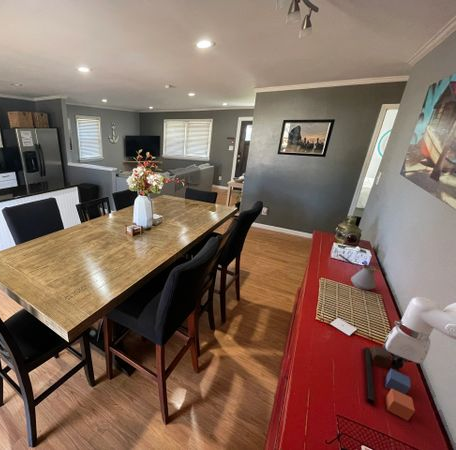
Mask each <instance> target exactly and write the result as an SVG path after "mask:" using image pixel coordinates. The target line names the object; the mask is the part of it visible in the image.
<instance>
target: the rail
mask: <svg viewBox="0 0 456 450" xmlns="http://www.w3.org/2000/svg"><path fill="white" fill-rule="evenodd" d="M370 350H371V348H370V347H367V346H365V347H364V349H363V360H364V375H365V393H366V395H365V396H366V403H367V404H369V405H372V406H373V405H374V404H375V387H374V377H373V366H372V365H373V364H372V363H371V353H370Z"/></svg>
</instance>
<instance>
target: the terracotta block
mask: <svg viewBox="0 0 456 450" xmlns="http://www.w3.org/2000/svg"><path fill="white" fill-rule="evenodd" d="M385 403H386V410H387V411H388V412H389V413H392V414H394V415H396V416H398V417H399V418H401V419H403V420H405V421H407V422H409V420H410V419H411V417H413V415H414V413H415V412H416V410H415V406H414V399H413V398H412V397H411V396H409V395H407V394H406V395H405V394H403V393H400V392H398V391H396V390H394V389H392V388H391V390H390V389H389V392H388V393H387V394H386V397H385Z"/></svg>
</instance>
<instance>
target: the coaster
mask: <svg viewBox="0 0 456 450" xmlns="http://www.w3.org/2000/svg"><path fill="white" fill-rule="evenodd" d="M329 324H330V325H331V326H333V327H334V328H336V329H337V330H339V331H341V332H342V333H344V334H346V335H347V336H351V335H352V334H353V333H354V332H356V331H357V330H358V328H357V327H355V326H353V325H351V324H350V323H348V322H346V321H345V320H343V319H341V318H339V317H337V318H335V319H334V320H333V321H331V322H330V323H329Z"/></svg>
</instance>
